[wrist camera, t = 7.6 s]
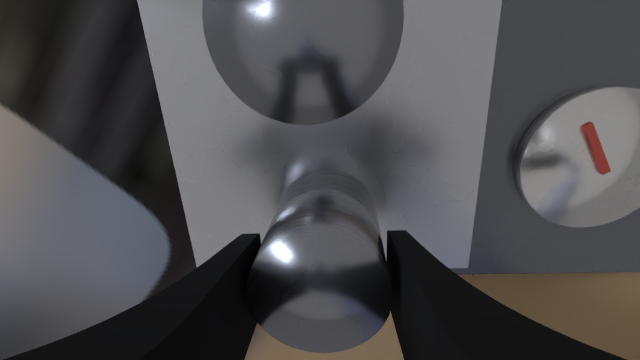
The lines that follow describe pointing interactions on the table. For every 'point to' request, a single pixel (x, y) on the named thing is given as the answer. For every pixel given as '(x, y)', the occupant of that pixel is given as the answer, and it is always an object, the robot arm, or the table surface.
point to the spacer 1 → (303, 53)
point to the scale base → (561, 141)
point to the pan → (334, 130)
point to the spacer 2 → (322, 266)
